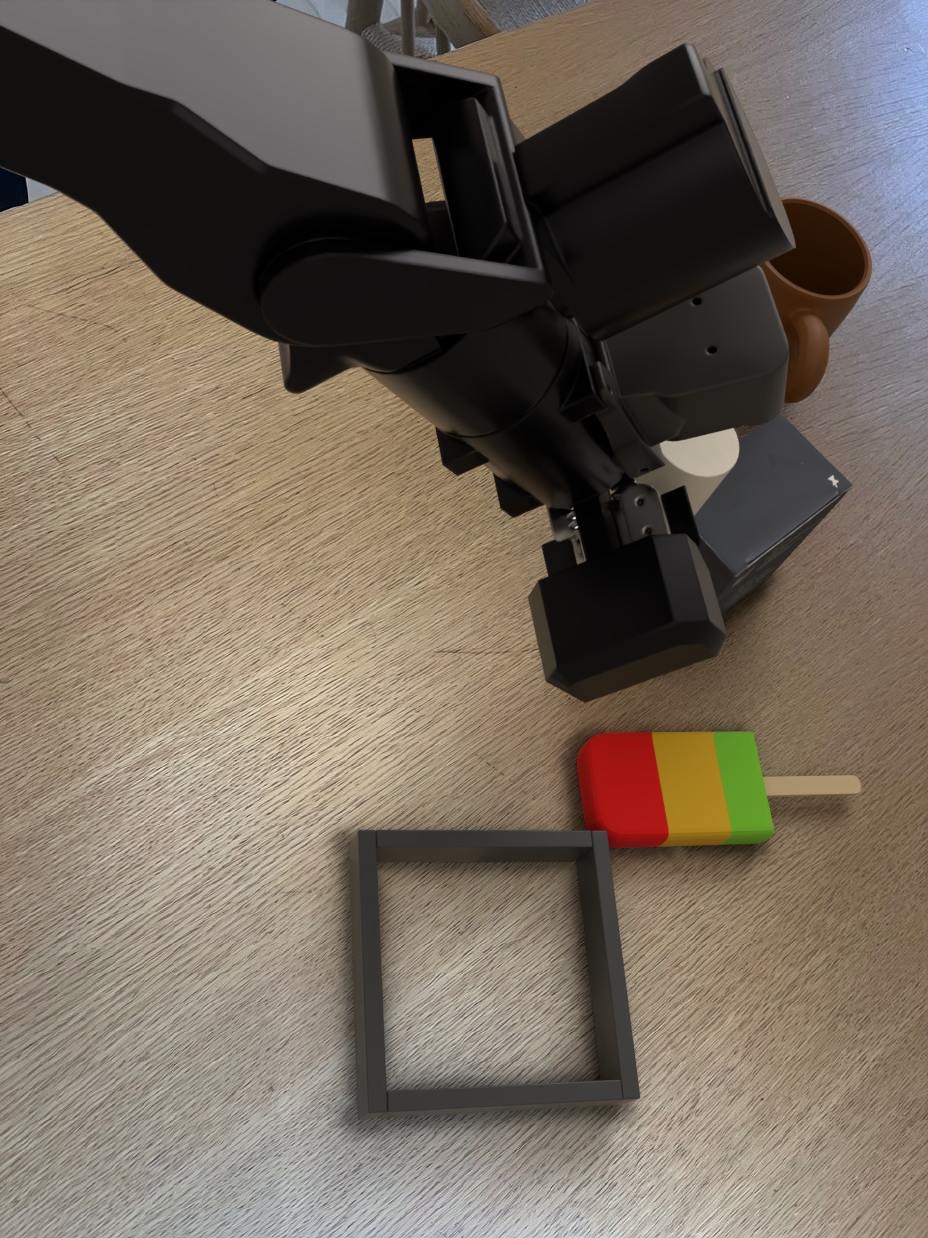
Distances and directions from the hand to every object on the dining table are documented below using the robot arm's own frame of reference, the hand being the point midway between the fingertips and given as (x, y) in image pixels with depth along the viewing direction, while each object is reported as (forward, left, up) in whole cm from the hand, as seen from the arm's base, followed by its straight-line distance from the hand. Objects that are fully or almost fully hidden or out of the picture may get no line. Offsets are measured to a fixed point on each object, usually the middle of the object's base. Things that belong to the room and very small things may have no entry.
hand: (663, 522), depth 54 cm
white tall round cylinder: (-1, 0, -7) cm, 7 cm away
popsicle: (+7, -8, -13) cm, 16 cm away
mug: (+13, +18, -13) cm, 26 cm away
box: (+7, +4, -13) cm, 15 cm away
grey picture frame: (-6, -16, -12) cm, 21 cm away
